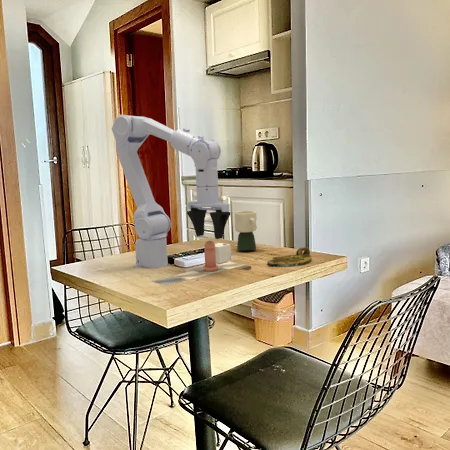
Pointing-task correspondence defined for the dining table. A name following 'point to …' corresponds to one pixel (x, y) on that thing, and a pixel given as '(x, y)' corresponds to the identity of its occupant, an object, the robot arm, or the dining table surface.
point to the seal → (292, 259)
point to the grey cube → (223, 252)
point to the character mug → (245, 229)
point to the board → (194, 274)
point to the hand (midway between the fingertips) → (209, 237)
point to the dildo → (210, 257)
